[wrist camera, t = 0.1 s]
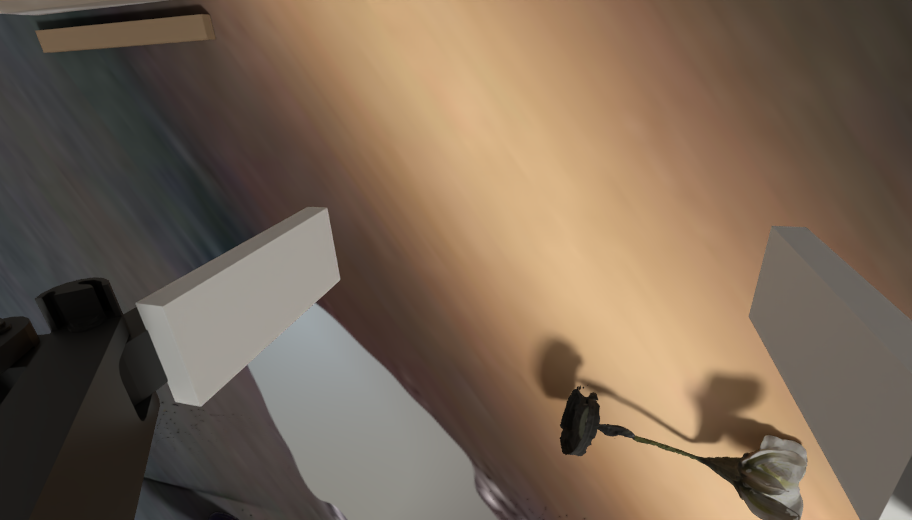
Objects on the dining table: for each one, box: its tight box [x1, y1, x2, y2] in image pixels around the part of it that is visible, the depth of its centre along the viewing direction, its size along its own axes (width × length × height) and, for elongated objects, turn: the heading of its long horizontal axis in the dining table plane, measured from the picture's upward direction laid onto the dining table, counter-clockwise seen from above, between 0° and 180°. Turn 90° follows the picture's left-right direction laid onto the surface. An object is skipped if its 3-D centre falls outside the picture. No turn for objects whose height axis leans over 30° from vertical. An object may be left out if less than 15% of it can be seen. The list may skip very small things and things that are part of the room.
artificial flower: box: [560, 385, 807, 520], centre depth 42 cm, size 9×22×10 cm, turn 76°
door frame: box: [0, 12, 216, 52], centre depth 36 cm, size 6×40×16 cm, turn 93°
